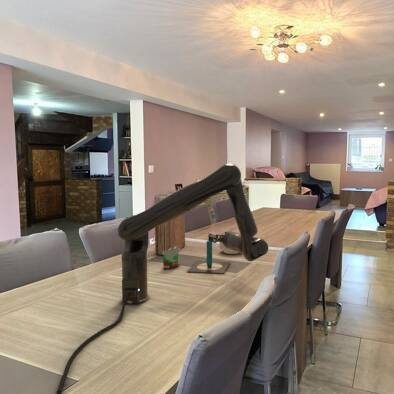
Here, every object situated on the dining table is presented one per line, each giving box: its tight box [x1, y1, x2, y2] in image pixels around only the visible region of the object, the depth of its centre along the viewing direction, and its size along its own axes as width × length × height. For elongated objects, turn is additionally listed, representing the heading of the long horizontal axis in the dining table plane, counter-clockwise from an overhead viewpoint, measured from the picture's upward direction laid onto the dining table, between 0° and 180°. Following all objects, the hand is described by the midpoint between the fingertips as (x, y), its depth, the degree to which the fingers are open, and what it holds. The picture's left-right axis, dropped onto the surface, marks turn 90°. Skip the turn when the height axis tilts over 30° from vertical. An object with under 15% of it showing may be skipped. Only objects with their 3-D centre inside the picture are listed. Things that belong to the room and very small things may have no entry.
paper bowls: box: [219, 242, 240, 255], centre depth 206 cm, size 15×15×8 cm
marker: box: [206, 240, 213, 268], centre depth 172 cm, size 3×3×14 cm
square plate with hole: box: [187, 260, 231, 275], centre depth 175 cm, size 18×18×1 cm
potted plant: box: [161, 245, 181, 270], centre depth 175 cm, size 12×6×10 cm, turn 168°
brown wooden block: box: [154, 213, 186, 256], centre depth 207 cm, size 25×9×30 cm, turn 174°
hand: (217, 234), depth 161 cm, fingers open, 8 cm apart
